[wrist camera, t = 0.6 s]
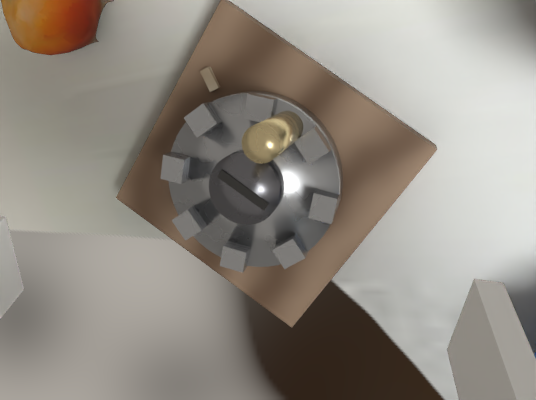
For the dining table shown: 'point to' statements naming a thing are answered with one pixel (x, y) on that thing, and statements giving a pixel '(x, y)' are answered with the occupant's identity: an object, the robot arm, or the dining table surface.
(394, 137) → the base plate
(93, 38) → the fruit
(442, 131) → the dining table surface
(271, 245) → the crank wheel
